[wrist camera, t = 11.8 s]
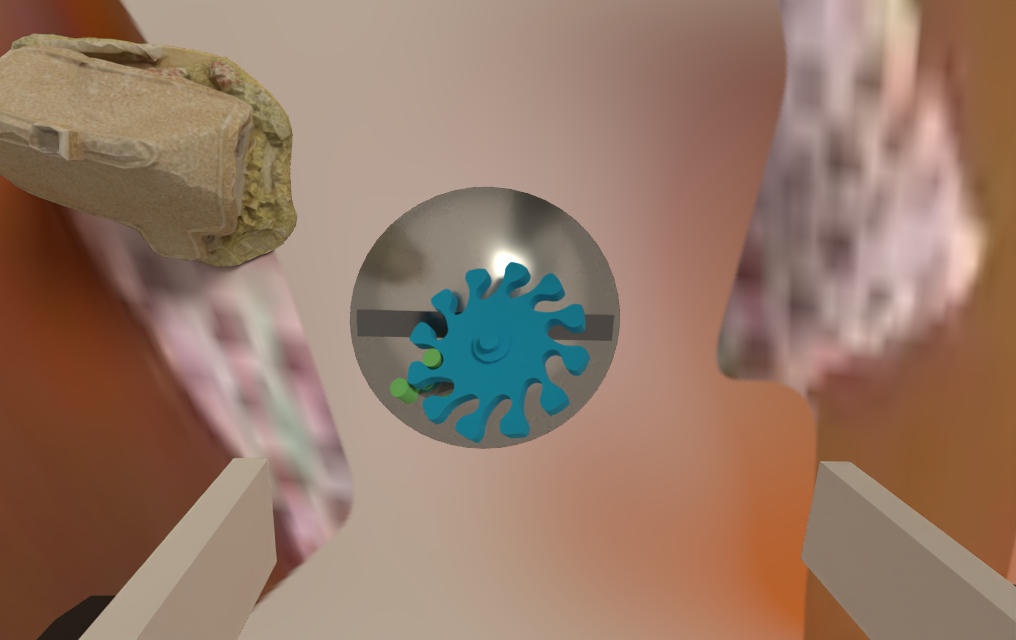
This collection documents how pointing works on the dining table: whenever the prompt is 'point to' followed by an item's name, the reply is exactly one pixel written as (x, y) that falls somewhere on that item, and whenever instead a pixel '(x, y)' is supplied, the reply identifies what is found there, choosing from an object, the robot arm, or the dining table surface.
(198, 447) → the dining table surface
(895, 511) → the robot arm
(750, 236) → the dining table surface
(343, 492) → the dining table surface
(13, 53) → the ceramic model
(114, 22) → the dining table surface
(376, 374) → the hub plate
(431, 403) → the gear
